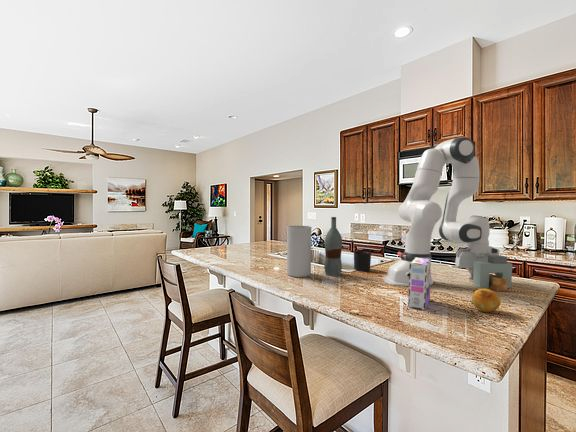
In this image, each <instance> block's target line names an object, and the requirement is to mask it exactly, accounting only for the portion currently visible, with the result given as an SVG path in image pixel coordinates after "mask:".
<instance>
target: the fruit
mask: <svg viewBox="0 0 576 432" xmlns="http://www.w3.org/2000/svg"><path fill="white" fill-rule="evenodd" d="M471 301H472V305H473V306H474V307H475V308H476V309H477V310H478V311H480V312H483V313H492V312H494V311H496V310H497V309H499V308H500V306H501V298H500V296H499V294H498V293H497V292H496V291H494V290H493V289H492V290H491V288H490V289H489V288H479V289H477V290H475V291H474V292H473V294H472V296H471Z"/></svg>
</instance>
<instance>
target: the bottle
mask: <svg viewBox="0 0 576 432" xmlns="http://www.w3.org/2000/svg"><path fill="white" fill-rule="evenodd" d="M330 220H331V221H330V223H331V224H330V228H329V230H328V231H327V233H326V234H325V238H324V251H325V253H324V254H325V258H324V265H323V266H324V269H323V270H324V274H325V275H326V276H332V277H337V276H341V274H342V269H343V266H342V263H343V262H342V249H343V237H342V234H341V233H340V232H339V230H338V228H337V217H336V216H331V218H330Z"/></svg>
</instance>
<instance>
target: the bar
mask: <svg viewBox="0 0 576 432" xmlns="http://www.w3.org/2000/svg"><path fill="white" fill-rule="evenodd" d="M473 271H474V268H472V270H471V272H472V273H473ZM468 277H469V278H468V279H469V280H471V281H473V277H470V276H469V275H468ZM489 288H490V289H492V290H495V291H498V292H500V291H501V292H502V291H503V292H506V291H507V289H508V288H507V279H504V278H502V277H499V276H496V275H495V274H494V273H489Z"/></svg>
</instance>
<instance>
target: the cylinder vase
mask: <svg viewBox="0 0 576 432" xmlns="http://www.w3.org/2000/svg"><path fill="white" fill-rule="evenodd" d="M286 230H287V231H286V232H287V233H286V274H287V275H288V276H289V277H292V278H307V277H309V276H311V275H312V226H311V225H310V226H309V225H287V226H286Z"/></svg>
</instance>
